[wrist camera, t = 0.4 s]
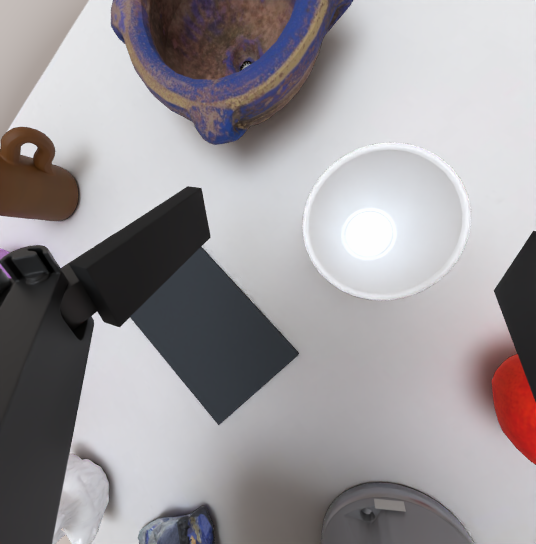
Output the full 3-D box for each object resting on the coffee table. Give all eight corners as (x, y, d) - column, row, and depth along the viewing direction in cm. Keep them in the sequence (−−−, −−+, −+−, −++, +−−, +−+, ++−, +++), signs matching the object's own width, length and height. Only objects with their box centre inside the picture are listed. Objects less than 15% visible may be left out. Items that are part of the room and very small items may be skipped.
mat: (299, 353, 31) (298, 354, 30) (220, 423, 34) (218, 425, 34) (185, 229, 34) (183, 229, 33) (123, 305, 37) (120, 305, 37)
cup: (302, 216, 30) (276, 196, 19) (391, 164, 27) (419, 107, 16) (346, 299, 29) (344, 325, 18) (442, 254, 26) (506, 255, 15)
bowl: (376, 59, 27) (392, -50, 17) (240, 186, 31) (193, 156, 22) (266, -62, 29) (225, -220, 19) (155, 74, 33) (77, 2, 24)
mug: (80, 132, 37) (-6, 94, 28) (109, 175, 36) (30, 149, 27) (33, 192, 40) (-58, 175, 31) (59, 233, 39) (-27, 227, 30)
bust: (129, 502, 42) (110, 553, 32) (75, 542, 39) (35, 612, 29) (94, 431, 43) (64, 457, 33) (39, 464, 40) (-12, 505, 30)
